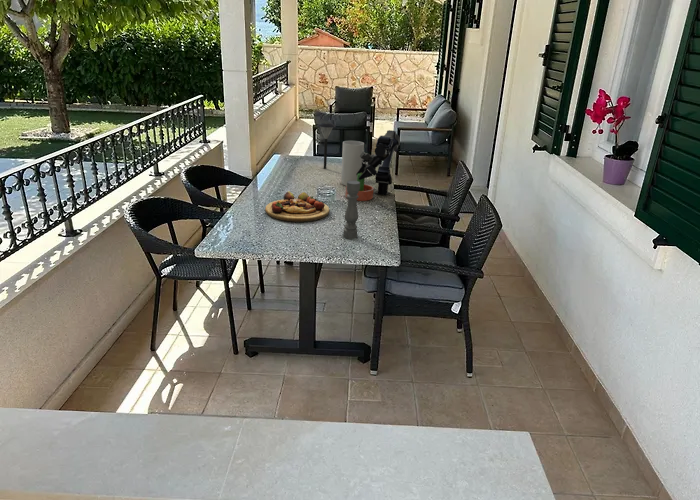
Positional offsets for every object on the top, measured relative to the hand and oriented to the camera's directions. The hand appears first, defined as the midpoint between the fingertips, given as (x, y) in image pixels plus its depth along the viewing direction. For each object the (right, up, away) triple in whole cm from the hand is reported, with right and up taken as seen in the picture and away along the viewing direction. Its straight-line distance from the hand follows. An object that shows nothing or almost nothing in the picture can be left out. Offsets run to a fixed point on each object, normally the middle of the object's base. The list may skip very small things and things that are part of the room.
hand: (357, 177), depth 278 cm
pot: (+1, -11, +5) cm, 12 cm away
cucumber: (+1, -10, +5) cm, 11 cm away
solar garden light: (-21, +14, +60) cm, 65 cm away
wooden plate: (-31, -21, -25) cm, 45 cm away
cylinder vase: (-4, 0, +29) cm, 29 cm away
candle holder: (-4, -34, -52) cm, 62 cm away
